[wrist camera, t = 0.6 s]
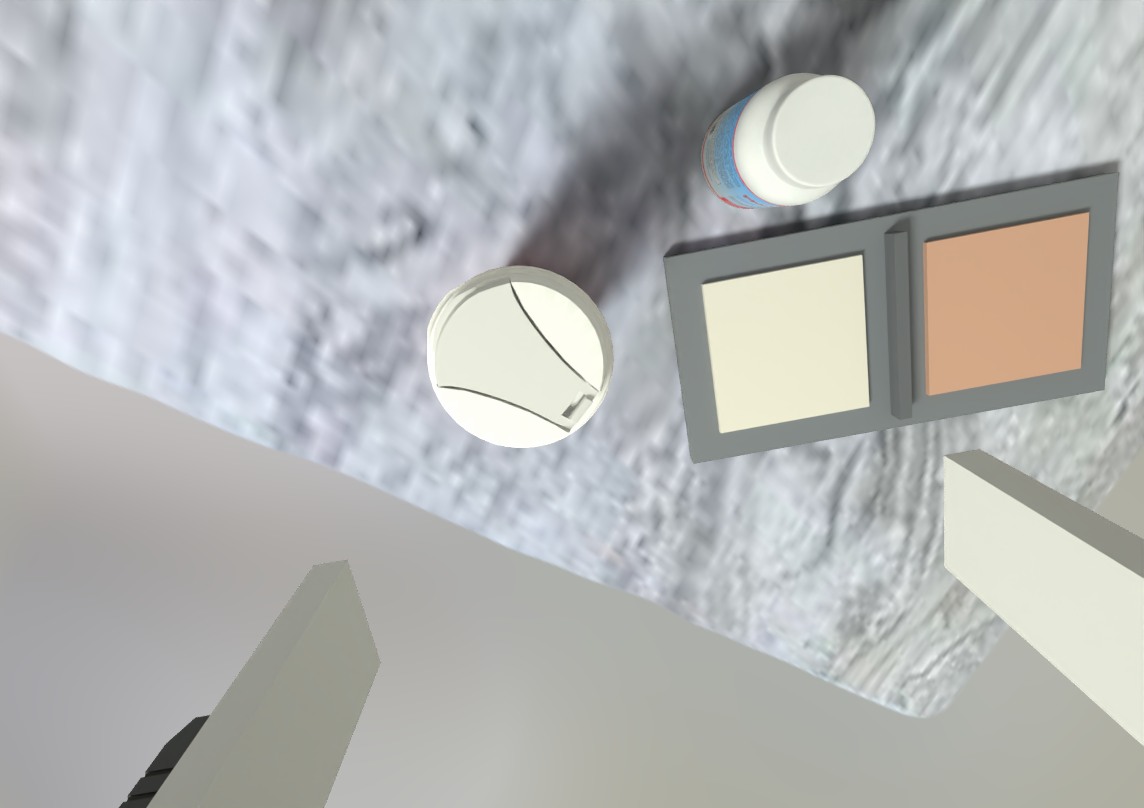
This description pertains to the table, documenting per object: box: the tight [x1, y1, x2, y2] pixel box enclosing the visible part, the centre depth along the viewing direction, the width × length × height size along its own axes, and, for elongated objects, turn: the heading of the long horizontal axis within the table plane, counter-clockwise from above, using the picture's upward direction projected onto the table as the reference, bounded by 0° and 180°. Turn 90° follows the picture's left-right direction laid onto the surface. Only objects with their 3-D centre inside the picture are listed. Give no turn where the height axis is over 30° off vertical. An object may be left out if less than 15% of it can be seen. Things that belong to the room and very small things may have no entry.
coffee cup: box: [427, 265, 614, 448], centre depth 33 cm, size 8×8×15 cm
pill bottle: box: [701, 73, 875, 209], centre depth 33 cm, size 6×6×11 cm
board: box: [663, 172, 1119, 464], centre depth 40 cm, size 14×28×2 cm, turn 100°
